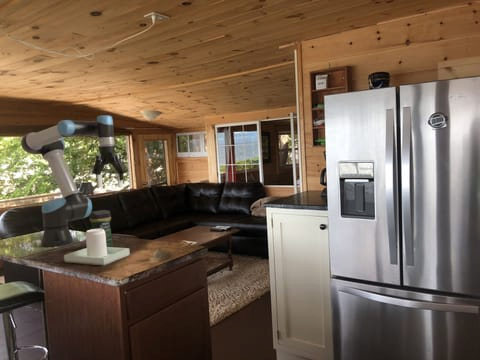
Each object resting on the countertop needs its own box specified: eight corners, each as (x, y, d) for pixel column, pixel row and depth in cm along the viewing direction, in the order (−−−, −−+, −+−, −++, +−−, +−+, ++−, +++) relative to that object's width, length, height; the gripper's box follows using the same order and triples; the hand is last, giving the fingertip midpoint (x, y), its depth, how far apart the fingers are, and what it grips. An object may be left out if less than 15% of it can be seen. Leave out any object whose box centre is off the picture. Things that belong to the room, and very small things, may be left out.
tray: (64, 262, 168) (64, 255, 168) (92, 252, 183) (91, 246, 183) (104, 265, 159) (103, 258, 159) (129, 255, 174) (129, 248, 174)
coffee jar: (96, 251, 184) (93, 212, 183) (89, 249, 190) (86, 211, 189) (115, 247, 191) (112, 209, 190) (108, 244, 197) (105, 208, 195)
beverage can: (98, 260, 166) (96, 232, 165) (83, 259, 169) (81, 232, 168) (111, 255, 173) (108, 228, 172) (96, 254, 176) (94, 228, 175)
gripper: (83, 147, 202) (86, 188, 203) (121, 144, 192) (124, 187, 193) (93, 147, 209) (97, 186, 210) (131, 144, 199) (134, 185, 200)
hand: (110, 187), depth 202 cm, fingers open, 13 cm apart
